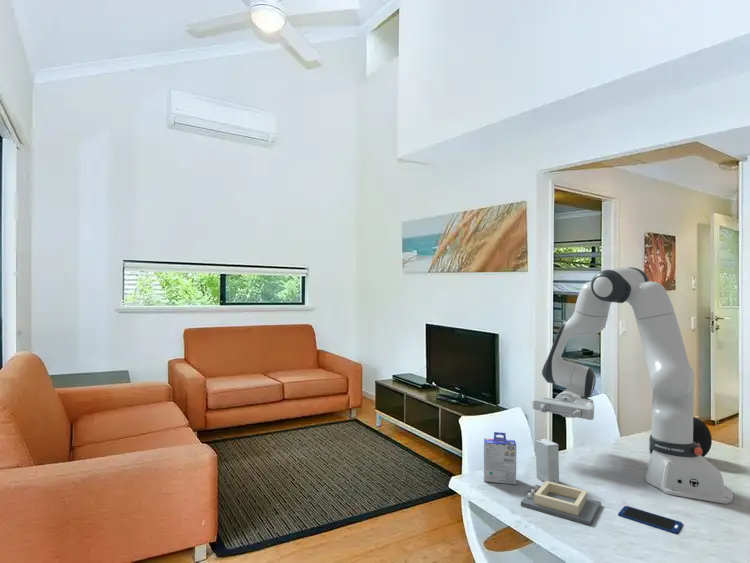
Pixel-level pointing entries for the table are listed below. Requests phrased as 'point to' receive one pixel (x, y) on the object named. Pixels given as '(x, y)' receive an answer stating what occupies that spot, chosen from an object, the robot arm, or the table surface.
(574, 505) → the socket dock
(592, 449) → the table surface
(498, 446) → the ink cartridge box
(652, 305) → the robot arm
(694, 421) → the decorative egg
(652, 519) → the cell phone
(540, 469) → the skincare box
